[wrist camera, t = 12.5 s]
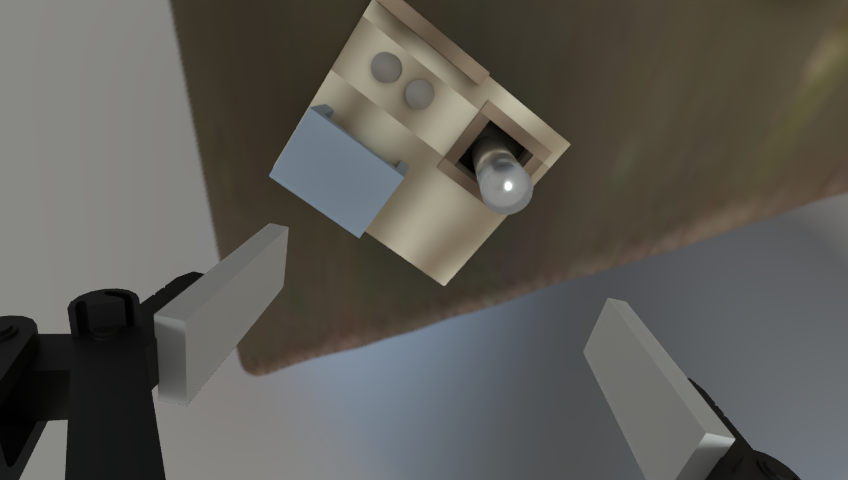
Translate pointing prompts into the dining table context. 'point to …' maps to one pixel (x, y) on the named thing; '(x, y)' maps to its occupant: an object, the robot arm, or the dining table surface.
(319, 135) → the block
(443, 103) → the base plate
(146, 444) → the robot arm
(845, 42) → the dining table surface
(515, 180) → the pin
